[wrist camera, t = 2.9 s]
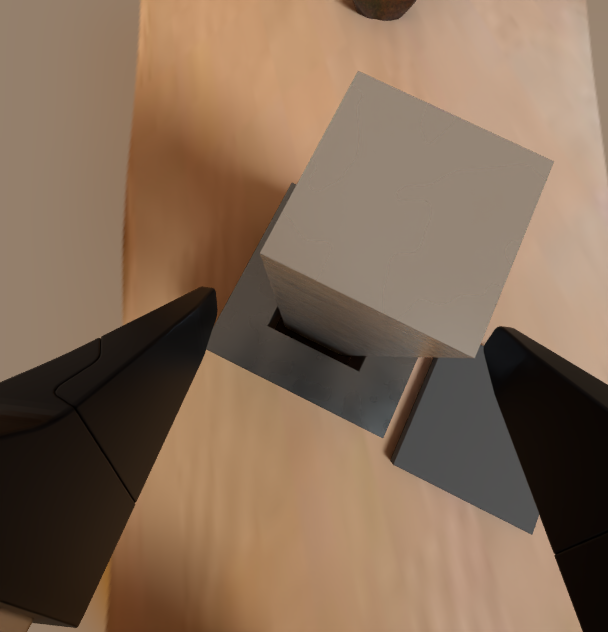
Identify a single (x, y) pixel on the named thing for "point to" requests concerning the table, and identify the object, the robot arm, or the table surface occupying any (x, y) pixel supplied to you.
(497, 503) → the rubber mat
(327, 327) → the steel peg
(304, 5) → the table surface
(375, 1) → the bolt
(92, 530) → the robot arm
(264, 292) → the socket block
